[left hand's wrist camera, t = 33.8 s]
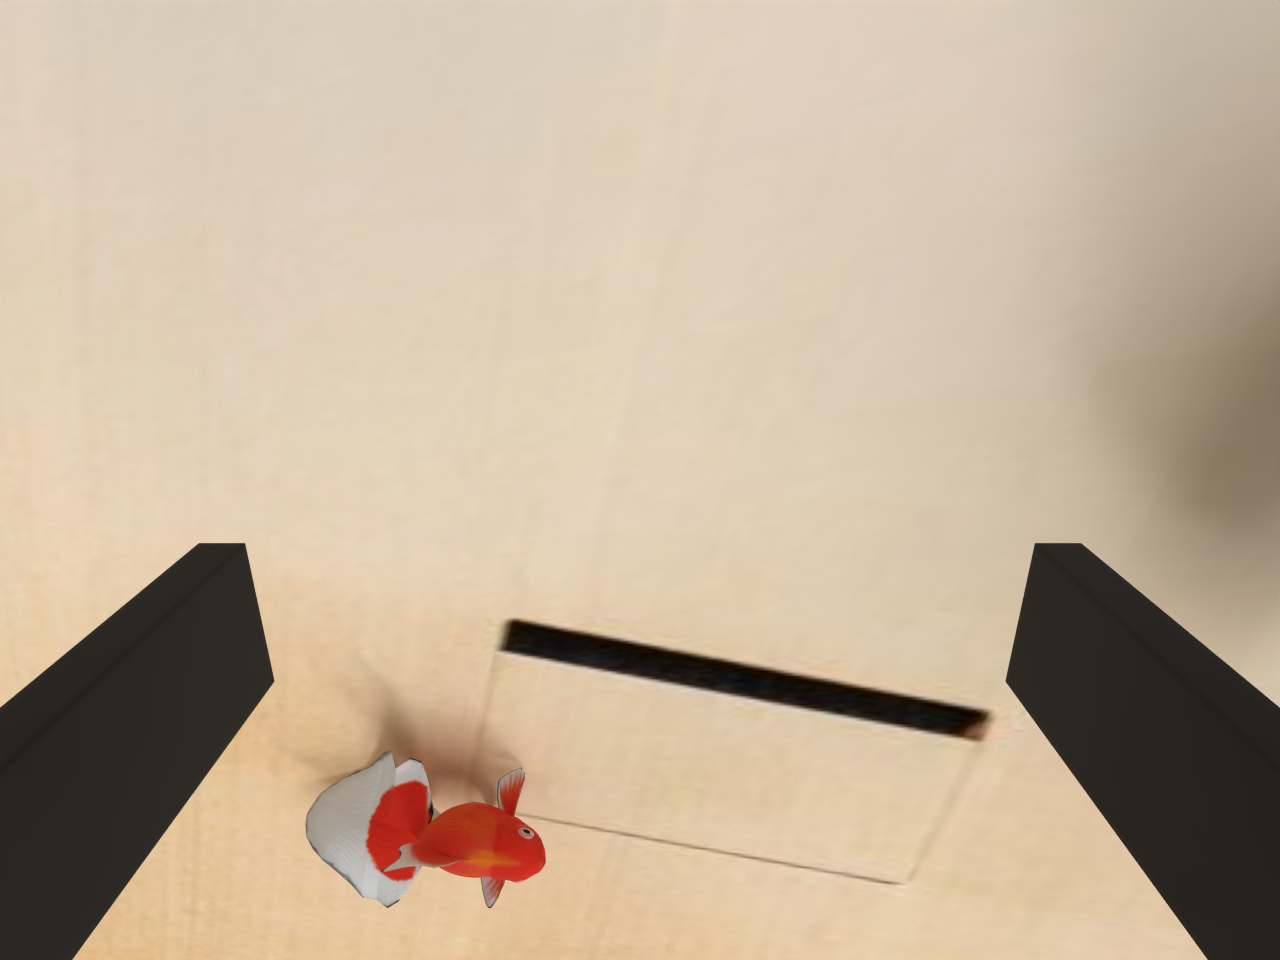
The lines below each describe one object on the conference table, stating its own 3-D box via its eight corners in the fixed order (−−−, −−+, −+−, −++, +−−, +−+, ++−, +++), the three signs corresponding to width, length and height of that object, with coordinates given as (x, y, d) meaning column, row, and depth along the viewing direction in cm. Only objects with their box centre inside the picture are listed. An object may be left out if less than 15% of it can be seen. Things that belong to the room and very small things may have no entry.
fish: (522, 947, 51) (443, 1035, 41) (346, 821, 55) (239, 873, 46) (589, 802, 50) (526, 856, 41) (407, 687, 55) (312, 712, 46)
